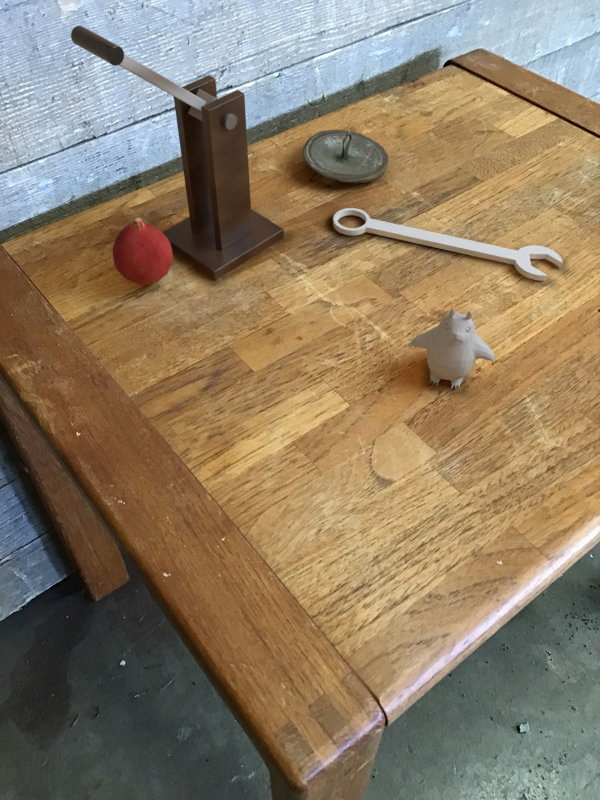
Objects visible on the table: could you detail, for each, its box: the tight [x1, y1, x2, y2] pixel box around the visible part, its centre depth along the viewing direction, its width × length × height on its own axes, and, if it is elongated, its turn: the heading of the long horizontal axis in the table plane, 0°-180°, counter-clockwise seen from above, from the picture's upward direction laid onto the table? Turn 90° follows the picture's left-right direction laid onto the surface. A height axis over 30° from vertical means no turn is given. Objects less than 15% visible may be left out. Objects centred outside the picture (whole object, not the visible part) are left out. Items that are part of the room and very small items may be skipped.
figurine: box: [407, 308, 497, 390], centre depth 65 cm, size 8×6×8 cm
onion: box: [111, 217, 174, 286], centre depth 73 cm, size 6×6×8 cm
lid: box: [301, 129, 389, 184], centre depth 88 cm, size 11×10×5 cm
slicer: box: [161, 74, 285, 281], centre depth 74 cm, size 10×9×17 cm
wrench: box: [332, 207, 564, 281], centre depth 79 cm, size 25×1×5 cm
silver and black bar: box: [70, 25, 218, 122], centre depth 63 cm, size 16×5×2 cm
